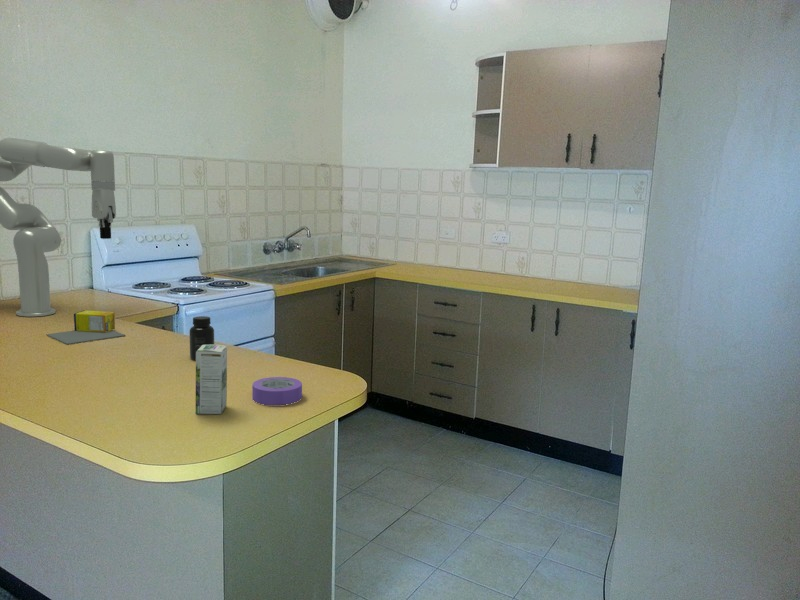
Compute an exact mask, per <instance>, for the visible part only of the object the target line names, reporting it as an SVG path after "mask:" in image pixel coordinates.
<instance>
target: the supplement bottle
mask: <svg viewBox="0 0 800 600" xmlns="http://www.w3.org/2000/svg"><path fill="white" fill-rule="evenodd" d="M211 323H212V322H211V316H206V315H205V316H204V315H203V316H193V317H192V325H193V326H191V327H190V329H189V357H190V359H191V360H193V361H196V351H197V350H198V349H199V348H200V347H201V346H202V345H209V344H213V345H215V328H214V327H213V326H211Z"/></svg>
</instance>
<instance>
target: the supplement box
mask: <svg viewBox="0 0 800 600" xmlns="http://www.w3.org/2000/svg"><path fill="white" fill-rule="evenodd" d="M115 314H116V313H115V312H113V311H103V310H102V311H100V310H99V311H98V310H83V309H82V310H81V311H78V312H74V313H73V324H74V326H73V327H74V330H75V331H86V332H103V333H106V332H109V331H111V330H113V331H115V330H116V321H115Z"/></svg>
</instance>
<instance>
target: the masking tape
mask: <svg viewBox="0 0 800 600" xmlns="http://www.w3.org/2000/svg"><path fill="white" fill-rule="evenodd" d="M251 386H252V387H251V388H252V391H251V392H252V393H251V395H252V396H251V397H252V401H253V400H254V401H255V402H254V401H253V402H254V403H256V402H257V403H256V404H258V403H260V404H259V405H261V404H264V405H263V406H266V405H285V406H287V405H286V404H291V403H294V402H297V401H299V400H300V399H301V398H302V397H303V383H302V381H300V379H296V378H292V377H287V376H273V377H271V376H270V377H263V378H260V379H257V380H255V381H253V382H252V385H251ZM302 399H303V398H302ZM302 399H301V400H302ZM301 400H300V401H301ZM300 401H299V402H300ZM297 403H298V402H297ZM294 404H295V403H294ZM291 405H292V404H291Z"/></svg>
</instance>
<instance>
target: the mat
mask: <svg viewBox="0 0 800 600" xmlns="http://www.w3.org/2000/svg"><path fill="white" fill-rule="evenodd" d="M45 335H47V336H46V337H48V338H52V339H53V340H55V339H56V340H55V341H57V340H58V342H59V343H62V344H64V345H66V344H67V345H68V346H69V344H70V345H76V344H75V343H77V344H81V342H83V343H88V342H87V341H90V342H94V341H93V340H97V341H102V340H101V339H103V340H108V339H107V338H110V339H116V338H115V337H117V338H121V336H123V337H126V334H124V333H121V332H119V331H116V330H111V331H109V332H106V333H103V332H86V331H75V329H74V330H68V331H60V332H53V333H46V334H45ZM67 345H66V346H67Z"/></svg>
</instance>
